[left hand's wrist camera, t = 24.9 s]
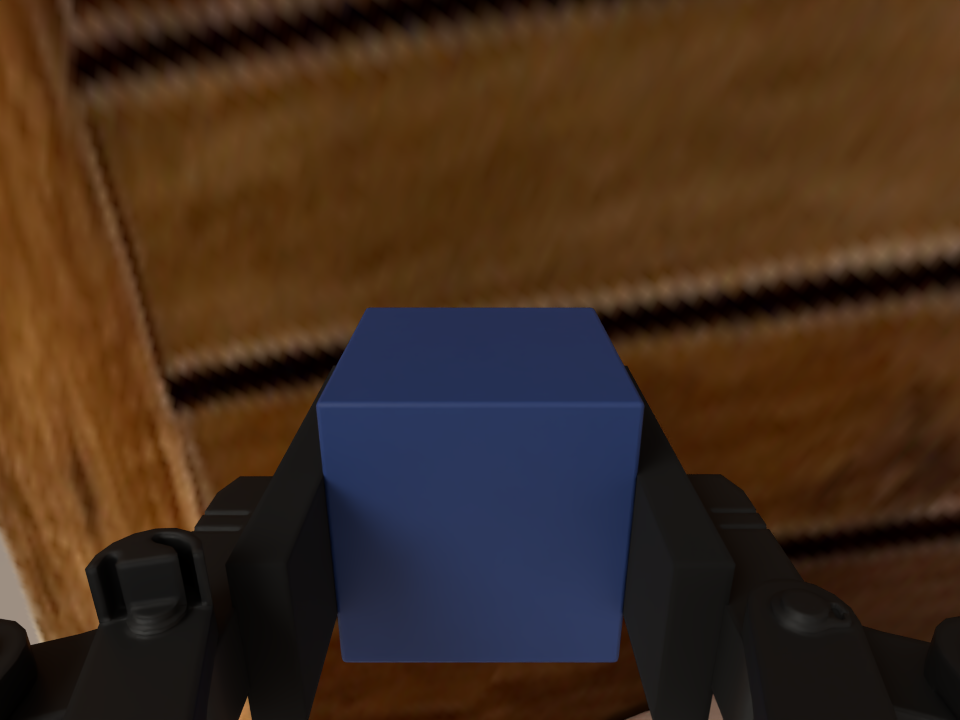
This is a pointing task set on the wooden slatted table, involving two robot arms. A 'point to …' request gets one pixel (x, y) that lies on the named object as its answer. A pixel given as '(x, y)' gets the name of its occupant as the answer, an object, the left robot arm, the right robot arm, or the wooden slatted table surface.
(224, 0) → the wooden slatted table surface
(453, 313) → the blue cube
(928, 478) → the wooden slatted table surface
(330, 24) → the wooden slatted table surface
